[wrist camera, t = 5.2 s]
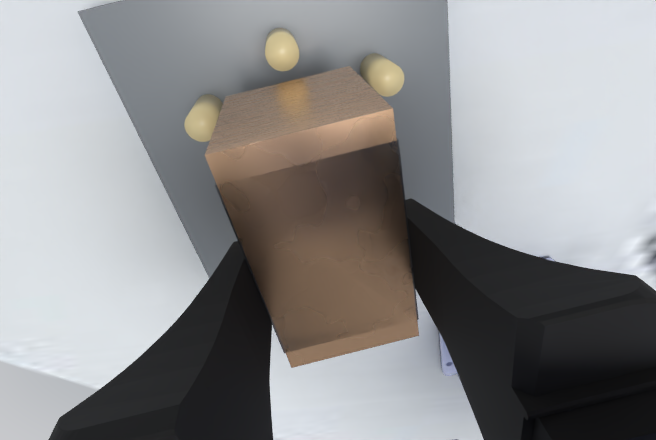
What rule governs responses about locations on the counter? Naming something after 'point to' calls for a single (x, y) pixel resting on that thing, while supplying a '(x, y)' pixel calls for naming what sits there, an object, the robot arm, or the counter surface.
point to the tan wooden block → (319, 211)
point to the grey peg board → (272, 83)
